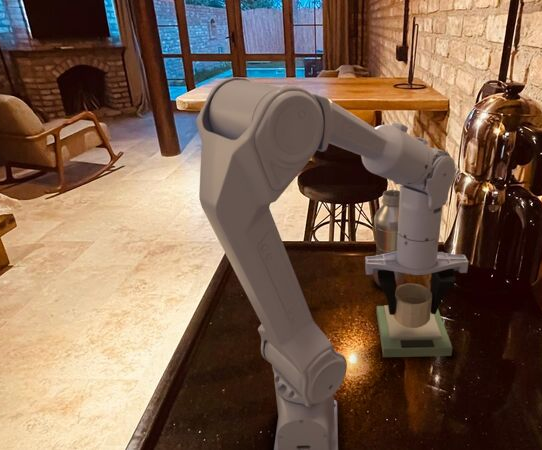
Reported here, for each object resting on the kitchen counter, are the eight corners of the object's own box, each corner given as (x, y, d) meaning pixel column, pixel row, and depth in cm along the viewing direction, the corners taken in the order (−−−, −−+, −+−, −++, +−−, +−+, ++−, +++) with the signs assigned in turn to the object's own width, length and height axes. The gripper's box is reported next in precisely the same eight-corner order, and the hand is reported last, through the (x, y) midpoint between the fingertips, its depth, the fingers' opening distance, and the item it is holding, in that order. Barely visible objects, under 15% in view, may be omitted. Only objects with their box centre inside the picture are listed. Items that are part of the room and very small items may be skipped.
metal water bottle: (404, 294, 80) (411, 201, 71) (370, 291, 81) (372, 199, 73) (406, 276, 86) (412, 188, 77) (374, 273, 87) (376, 186, 78)
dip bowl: (433, 329, 61) (436, 305, 59) (395, 330, 61) (396, 305, 59) (425, 305, 66) (428, 282, 64) (390, 306, 66) (391, 283, 64)
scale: (451, 356, 65) (453, 345, 64) (383, 357, 65) (383, 346, 64) (435, 312, 75) (436, 302, 74) (376, 313, 75) (376, 303, 74)
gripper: (462, 218, 60) (452, 293, 66) (364, 220, 60) (363, 295, 66) (477, 241, 54) (464, 322, 60) (367, 243, 54) (366, 324, 60)
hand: (412, 310), depth 62 cm, fingers closed on dip bowl, 6 cm apart
